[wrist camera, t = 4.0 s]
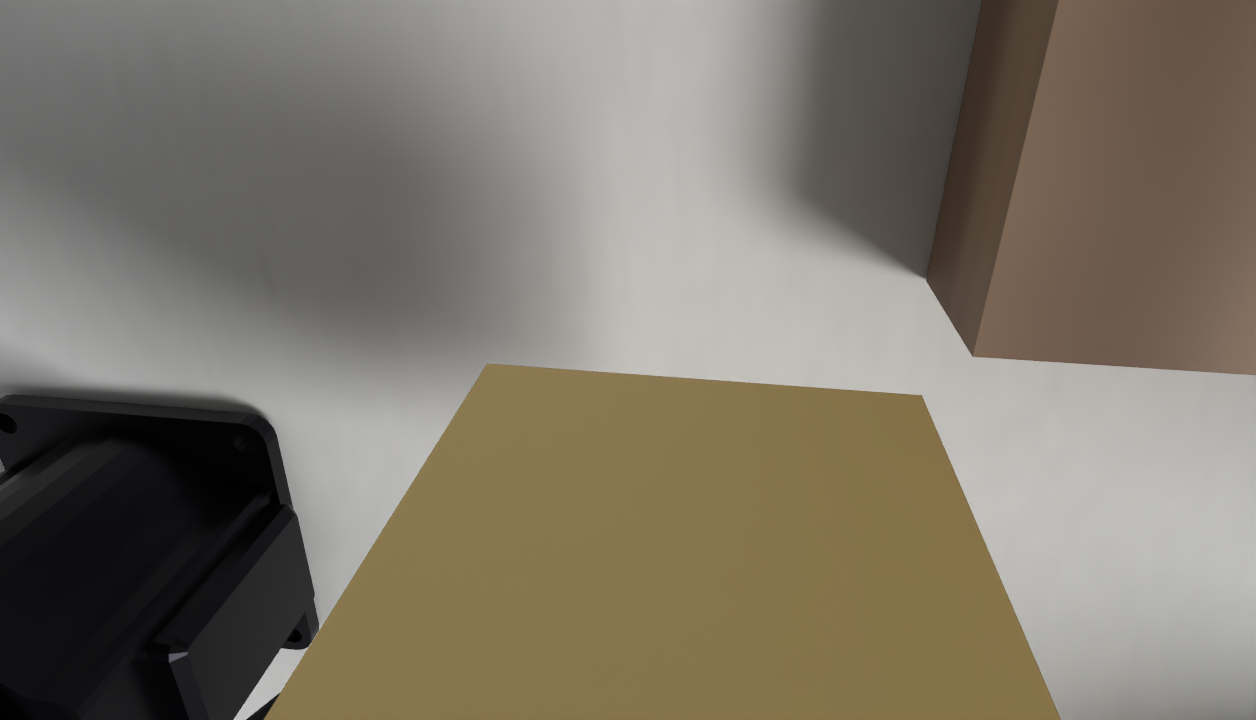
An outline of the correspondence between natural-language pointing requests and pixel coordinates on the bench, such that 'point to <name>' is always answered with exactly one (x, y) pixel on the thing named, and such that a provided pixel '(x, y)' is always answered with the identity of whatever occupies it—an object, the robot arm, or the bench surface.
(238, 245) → the bench surface
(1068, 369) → the bench surface
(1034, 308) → the walnut base
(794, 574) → the ochre cube
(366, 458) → the bench surface
